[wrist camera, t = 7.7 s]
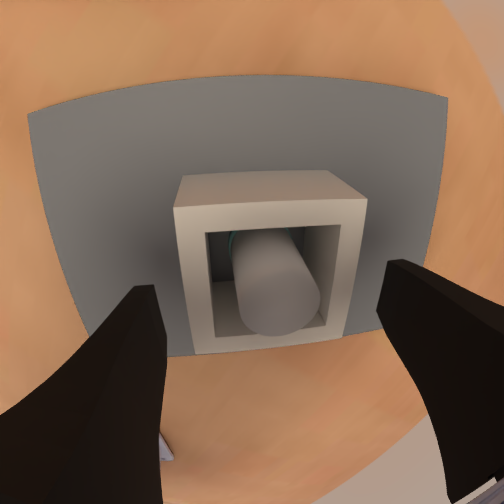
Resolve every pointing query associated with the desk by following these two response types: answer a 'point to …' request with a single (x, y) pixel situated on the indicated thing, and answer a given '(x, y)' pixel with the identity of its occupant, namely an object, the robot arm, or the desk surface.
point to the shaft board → (223, 161)
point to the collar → (261, 217)
